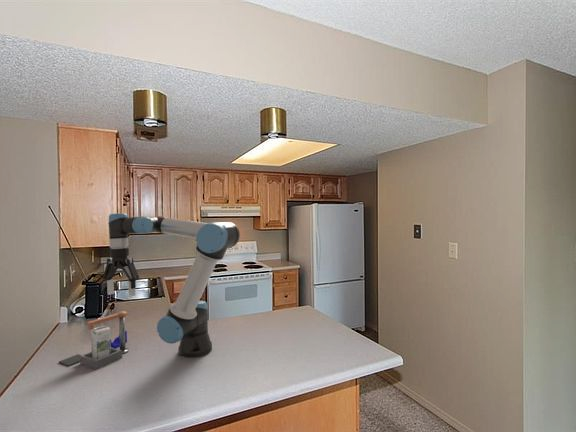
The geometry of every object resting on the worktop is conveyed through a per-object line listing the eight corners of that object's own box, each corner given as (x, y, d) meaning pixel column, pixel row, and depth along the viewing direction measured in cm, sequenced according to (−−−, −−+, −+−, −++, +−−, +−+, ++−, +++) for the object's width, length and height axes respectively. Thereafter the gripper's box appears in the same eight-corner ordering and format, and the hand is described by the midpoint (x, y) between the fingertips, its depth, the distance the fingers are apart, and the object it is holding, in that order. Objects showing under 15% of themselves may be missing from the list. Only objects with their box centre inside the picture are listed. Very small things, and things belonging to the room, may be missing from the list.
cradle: (122, 358, 140) (121, 350, 140) (96, 369, 129) (96, 361, 129) (106, 353, 145) (105, 345, 145) (80, 364, 135) (80, 356, 135)
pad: (88, 358, 140) (88, 357, 140) (69, 366, 133) (69, 365, 133) (78, 355, 144) (78, 354, 144) (58, 362, 136) (58, 361, 136)
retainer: (123, 317, 149) (122, 310, 149) (128, 318, 147) (128, 311, 147) (86, 329, 134) (86, 322, 134) (91, 330, 132) (91, 323, 132)
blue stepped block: (119, 342, 158) (118, 330, 159) (126, 342, 158) (126, 330, 158) (100, 352, 147) (100, 339, 147) (109, 352, 146) (108, 340, 146)
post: (130, 350, 147) (130, 315, 147) (121, 355, 143) (120, 318, 143) (124, 349, 149) (123, 314, 149) (114, 353, 145) (113, 317, 145)
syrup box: (105, 357, 141) (105, 324, 141) (111, 360, 137) (110, 327, 137) (91, 361, 137) (90, 328, 137) (96, 365, 133) (96, 331, 133)
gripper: (146, 246, 138) (148, 294, 138) (108, 247, 148) (110, 291, 148) (132, 248, 131) (134, 298, 131) (92, 248, 141) (94, 295, 141)
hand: (121, 295), depth 140 cm, fingers open, 13 cm apart
